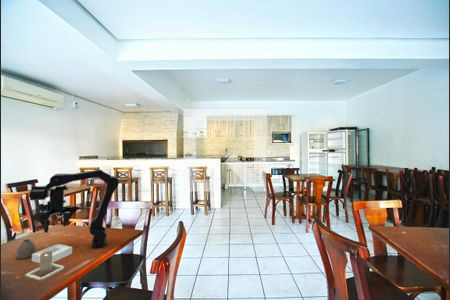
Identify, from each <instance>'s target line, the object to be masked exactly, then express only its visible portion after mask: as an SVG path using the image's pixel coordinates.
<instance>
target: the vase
mask: <svg viewBox="0 0 450 300" xmlns="http://www.w3.org/2000/svg"><path fill="white" fill-rule="evenodd" d="M36 251H37V250H36V244H35V243H34V242H33V241H32V240H31V239H30V238H27V239H24V240H23V241H22V243H20V245H19V246H18V247H17V249H16V257H17V258H18V259H19V260H26V259H30V258H32V254H33V253H36Z"/></svg>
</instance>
